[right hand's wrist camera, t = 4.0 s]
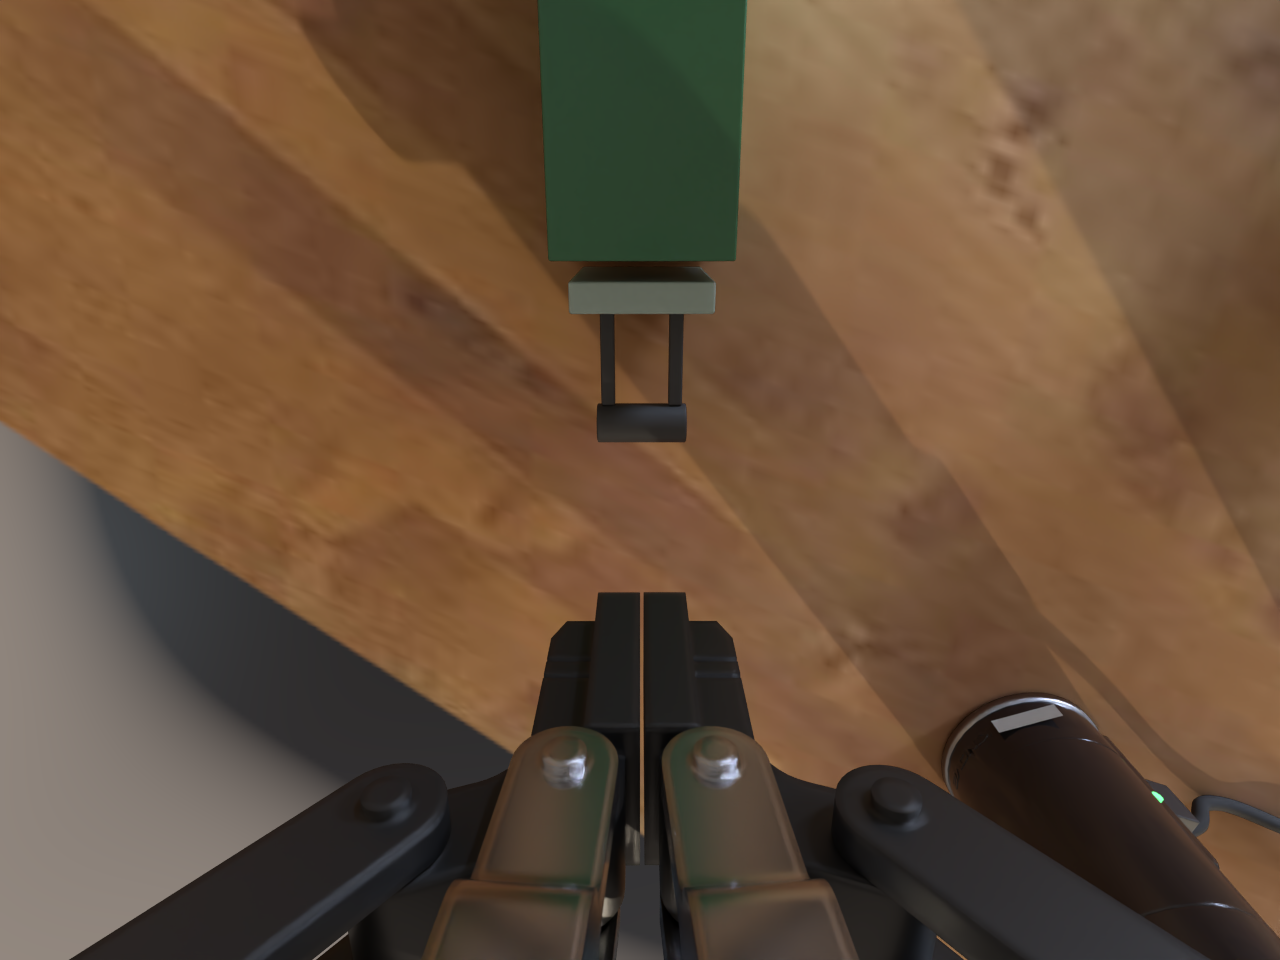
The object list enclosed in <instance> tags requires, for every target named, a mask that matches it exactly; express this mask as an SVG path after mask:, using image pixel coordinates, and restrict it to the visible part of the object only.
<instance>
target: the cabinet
mask: <svg viewBox="0 0 1280 960" xmlns="http://www.w3.org/2000/svg"><path fill="white" fill-rule="evenodd" d="M537 2H538V26H539V50H540V73H541V97H542V121H543V145H544V169H545V193H546V217H547V240H548V259H549V261H735V260H736V245H737V222H738V199H739V176H740V153H741V130H742V107H743V84H744V61H745V38H746V15H747V0H537Z"/></svg>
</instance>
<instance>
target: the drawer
mask: <svg viewBox="0 0 1280 960" xmlns="http://www.w3.org/2000/svg"><path fill="white" fill-rule="evenodd" d="M568 294H569V313H570V314H600V346H601V399H602V403H599V404H598V405H597V440H598V442H685V441H686V432H687V412H686V404H684V403H682V371H683V321H684V314H714V312H715V294H716V283H715V282H714V281H713V280H712V279H711V278H710V277H709V276H708V275H707V274H706V273H705V272H704V271H703V269H702V268H701V267H583V268H582V269H581V270H580V271H579V272H578V273H577V274H576V275H575V276H574V277H573V278H572V279H571V281H570V282H569V283H568ZM614 314H669V372H668V403H615V338H614Z"/></svg>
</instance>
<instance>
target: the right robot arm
mask: <svg viewBox="0 0 1280 960" xmlns="http://www.w3.org/2000/svg"><path fill="white" fill-rule="evenodd" d="M643 692H644V838H645V865H659V870H660V927H661V937H662V946H663V955H664V960H964V959H962V958H961V957H960V956H959V955H957V954H956V953H955V952H954V951H952V950H951V949H950V948H949V947H947V946H946V945H945V944H944V943H942V942H941V941H940V940H939V939H937V938H936V936H937V935H938V936H939V937H940V938H941V939H943V940H944V941H945V942H946V943H948V944H949V945H950V946H951V947H953V948H954V949H955V950H956V951H958V952H959V953H960V954H961V955H963V956H964V957H965V958H966V959H968V960H1280V938H1279V937H1278V936H1277V935H1276V933H1275V932H1274V931H1273V930H1272V929H1271V928H1270V927H1269V926H1268V925H1267V924H1266V923H1265V921H1264V920H1263V919H1262V918H1261V917H1260V916H1259V915H1258V913H1257V912H1256V911H1255V910H1254V909H1253V908H1252V907H1251V905H1250V904H1249V903H1248V902H1247V901H1246V900H1245V899H1244V897H1243V896H1242V895H1241V894H1240V893H1239V892H1238V891H1237V889H1236V888H1235V887H1234V886H1233V885H1232V884H1231V883H1230V881H1229V880H1228V879H1227V878H1226V877H1225V876H1224V875H1223V873H1222V872H1221V871H1220V870H1219V865H1218V862H1217V861H1216V859H1215V858H1214V857H1213V856H1212V855H1211V854H1210V853H1209V851H1208V850H1207V849H1206V848H1205V847H1204V846H1203V845H1202V843H1201V842H1200V841H1199V840H1198V839H1197V838H1196V837H1197V836H1199V835H1201V834H1203V833H1204V832H1205V831H1206V830H1207V829H1208V826H1209V820H1210V817H1209V811H1214V810H1215V811H1224V812H1227V813H1231V814H1234V815H1236V816H1239V817H1242V818H1244V819H1247V820H1249V821H1252V822H1254V823H1256V824H1259V825H1261V826H1263V827H1266V828H1268V829H1270V830H1273V831H1275V832H1277V833H1280V818H1277V817H1275V816H1273V815H1270V814H1268V813H1266V812H1263V811H1261V810H1259V809H1256V808H1254V807H1252V806H1249V805H1247V804H1244V803H1241V802H1238V801H1235V800H1232V799H1229V798H1224V797H1219V796H1212V795H1204V796H1199V797H1197V798H1195V799H1194V800H1193V802H1192V807H1191V812H1190V811H1189V810H1188V809H1187V808H1186V807H1185V806H1184V805H1183V803H1182V802H1181V801H1180V800H1179V799H1178V798H1177V797H1176V796H1175V795H1174V794H1173V792H1172V791H1171V790H1170V789H1169V788H1168V787H1167V786H1165V785H1162V784H1159V783H1156V782H1152V781H1149V780H1146V779H1144V778H1143V777H1142V776H1141V774H1140V773H1139V772H1138V771H1137V770H1136V769H1135V768H1134V766H1133V765H1132V764H1131V763H1130V762H1129V761H1128V760H1127V759H1126V757H1125V756H1124V755H1123V754H1122V753H1121V752H1120V751H1119V750H1118V748H1117V747H1116V746H1115V745H1114V744H1113V743H1112V742H1111V740H1110V739H1109V738H1108V737H1106V736H1103V735H1101V734H1100V732H1099V731H1098V729H1097V727H1096V726H1095V724H1094V723H1093V722H1092V720H1091V719H1090V718H1089V717H1088V716H1087V715H1086V714H1085V713H1084V712H1083V711H1082V710H1081V709H1080V708H1079V707H1078V706H1076V705H1075V704H1073V703H1072V702H1070V701H1068V700H1066V699H1064V698H1061V697H1058V696H1054V695H1050V694H1044V693H1021V694H1015V695H1010V696H1006V697H1003V698H1000V699H997V700H994V701H992V702H989V703H988V704H986V705H984V706H982V707H980V708H978V709H977V710H975V711H974V712H973V713H971V714H970V715H969V716H967V717H966V718H965V719H964V720H963V721H962V722H961V723H960V724H959V725H958V726H957V727H956V729H955V730H954V731H953V733H952V734H951V736H950V738H949V739H948V741H947V743H946V746H945V748H944V752H943V756H942V774H943V778H944V781H945V784H946V786H947V788H948V790H949V792H950V794H951V795H950V794H949V793H947V792H946V791H944V790H943V789H941V788H939V787H938V786H936V785H935V784H933V783H932V782H930V781H928V780H927V779H925V778H923V777H921V776H920V775H918V774H915V773H913V772H911V771H908V770H905V769H902V768H898V767H893V766H886V765H869V766H863V767H859V768H856V769H854V770H852V771H850V772H848V773H847V774H846V775H845V776H843V777H842V778H841V780H840V781H839V783H838V785H837V788H836V789H834V788H830V787H826V786H822V785H818V784H814V783H810V782H806V781H803V780H799V779H797V778H794V777H792V776H790V775H787V774H786V773H784V772H782V771H780V770H779V769H777V768H776V767H775V766H773V765H772V764H771V763H770V762H769V759H768V757H767V755H766V752H765V751H764V750H763V748H762V747H761V746H760V745H759V744H758V743H757V742H756V741H755V740H754V736H753V731H752V727H751V722H750V717H749V713H748V708H747V703H746V699H745V694H744V689H743V685H742V680H741V678H740V671H739V666H738V662H737V657H736V652H735V648H734V643H733V638H732V637H731V636H730V635H729V634H728V633H727V632H726V631H725V630H724V629H723V627H722V626H721V625H720V624H719V623H718V622H717V621H689V619H688V610H687V602H686V594H685V592H644V662H643ZM625 865H640V592H599V593H598V599H597V609H596V618H595V621H567V622H566V623H565V624H564V625H563V626H562V627H561V628H560V629H559V631H558V632H557V633H556V634H555V635H554V636H553V637H552V638H551V642H550V647H549V652H548V657H547V662H546V667H545V671H544V678H543V681H542V686H541V691H540V696H539V701H538V705H537V710H536V715H535V720H534V725H533V730H532V735H531V737H529V738H528V739H527V740H525V741H524V742H523V743H522V744H521V745H520V746H519V747H518V748H517V750H516V751H515V752H514V755H513V757H512V759H511V762H510V765H509V768H508V769H507V770H505V771H503V772H502V773H500V774H498V775H496V776H494V777H491V778H489V779H487V780H483V781H480V782H477V783H473V784H469V785H465V786H461V787H457V788H453V789H449V790H447V787H446V784H445V782H444V780H443V779H442V777H441V776H440V775H439V774H438V773H437V772H435V771H434V770H432V769H430V768H428V767H425V766H422V765H418V764H410V763H400V764H391V765H386V766H382V767H379V768H376V769H373V770H371V771H368V772H366V773H364V774H362V775H360V776H358V777H356V778H355V779H353V780H352V781H350V782H348V783H347V784H345V785H344V786H342V787H341V788H339V789H337V790H336V791H334V792H333V793H331V794H330V795H328V796H327V797H325V798H323V799H322V800H320V801H319V802H317V803H315V804H314V805H312V806H311V807H309V808H308V809H306V810H304V811H303V812H301V813H300V814H298V815H297V816H295V817H293V818H292V819H290V820H289V821H287V822H285V823H284V824H282V825H281V826H279V827H278V828H276V829H275V830H273V831H271V832H270V833H268V834H267V835H265V836H263V837H262V838H260V839H259V840H257V841H256V842H254V843H252V844H251V845H249V846H248V847H246V848H244V849H243V850H241V851H240V852H238V853H237V854H235V855H233V856H232V857H230V858H229V859H227V860H226V861H224V862H222V863H221V864H219V865H218V866H216V867H215V868H213V869H211V870H210V871H208V872H207V873H205V874H204V875H202V876H200V877H199V878H197V879H196V880H194V881H193V882H191V883H189V884H188V885H186V886H185V887H183V888H181V889H180V890H178V891H177V892H175V893H174V894H172V895H171V896H169V897H167V898H166V899H164V900H163V901H161V902H159V903H158V904H156V905H155V906H153V907H152V908H150V909H148V910H147V911H145V912H144V913H142V914H141V915H139V916H137V917H136V918H134V919H133V920H131V921H129V922H128V923H126V924H125V925H123V926H122V927H120V928H118V929H117V930H115V931H114V932H112V933H111V934H109V935H107V936H106V937H104V938H103V939H101V940H100V941H98V942H96V943H95V944H93V945H92V946H90V947H89V948H87V949H85V950H84V951H82V952H81V953H79V954H78V955H76V956H74V957H73V958H71V959H70V960H312V959H314V958H315V957H316V956H317V955H319V954H320V953H321V952H322V951H324V950H325V949H326V948H327V947H329V946H330V945H331V944H332V943H334V942H335V941H336V940H337V939H339V938H340V937H341V936H342V935H344V934H345V933H346V932H347V931H348V935H346V936H345V937H344V938H343V939H341V940H340V941H339V942H338V943H337V944H335V945H334V946H333V947H332V948H330V949H329V950H328V951H326V952H325V953H324V954H323V955H322V956H320V957H319V958H318V959H316V960H616V955H617V946H618V937H619V928H620V906H621V904H622V901H623V898H624V892H625Z"/></svg>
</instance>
